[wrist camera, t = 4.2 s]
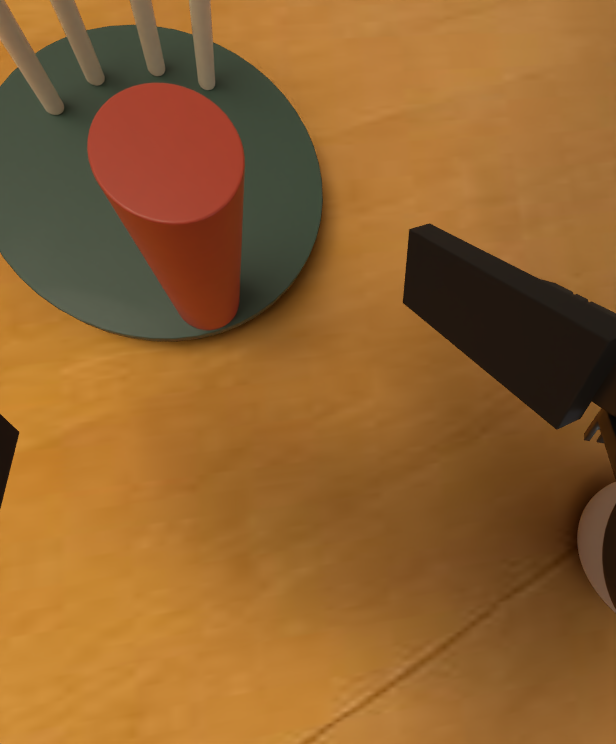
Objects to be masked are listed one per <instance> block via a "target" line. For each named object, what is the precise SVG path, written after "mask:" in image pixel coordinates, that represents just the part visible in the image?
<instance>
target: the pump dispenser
mask: <svg viewBox="0 0 616 744" xmlns="http://www.w3.org/2000/svg"><path fill="white" fill-rule="evenodd" d="M577 544H578V552H579V557H580V560H581V564H582V566H583V569H584V571H585V574H586V576H587V578H588V580H589V581H590V583H591V584H592V586H593V588H594V589H595V590H596V592H597V593H598V595H599V596H600V597H601V598H602V599H603V601H604V602H605V603H606V604H607V605H608V606H609V607H610V608H611V609H612V610H613V611H614V612H615V613H616V482H613V483H611V484H609V485H608V486H606V487H604V488H603V489H601V490H600V491H599V492H598V493H596V494H595V495H594V496H593V497H592V499H591V500H590V501H589V502H588V504H587V505H586V507H585V509H584V511H583V513H582V515H581V518H580V522H579V526H578V533H577Z"/></svg>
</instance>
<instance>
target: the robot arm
mask: <svg viewBox="0 0 616 744" xmlns="http://www.w3.org/2000/svg"><path fill="white" fill-rule="evenodd" d="M403 303H404V304H405V305H406V306H407V307H409V308H410V309H411V310H412V311H413V312H415V313H416V314H417V315H418V316H419V317H421V318H422V319H423V320H424V321H426V322H427V323H428V324H429V325H430V326H432V327H433V328H434V329H435V330H436V331H438V332H439V333H440V334H441V335H443V336H444V337H445V338H446V339H447V340H449V341H450V342H451V343H452V344H453V345H455V346H456V347H457V348H458V349H460V350H461V351H462V352H463V353H464V354H466V355H467V356H468V357H469V358H470V359H472V360H473V361H474V362H475V363H476V364H478V365H479V366H480V367H481V368H483V369H484V370H485V371H486V372H487V373H489V374H490V375H491V376H492V377H493V378H495V379H496V380H497V381H498V382H500V383H501V384H502V385H503V386H504V387H506V388H507V389H508V390H509V391H510V392H512V393H513V394H514V395H515V396H517V397H518V398H519V399H520V400H521V401H523V402H524V403H525V404H526V405H527V406H529V407H530V408H531V409H532V410H534V411H535V412H536V413H537V414H538V415H540V416H541V417H542V418H543V419H544V420H546V421H547V422H548V423H549V424H550V425H552V426H553V427H554V428H555V429H559V428H562V427H564V426H566V425H568V424H570V423H572V422H574V421H576V420H578V419H580V418H581V417H582V415H583V414H584V412H585V411H586V409H587V408H588V406H589V404H590V403H591V401H592V402H594V403H595V404H597V405H598V406H599V407H601V410H600V411H599V413H598V414H597V415H596V417H595V418H594V420H593V421H592V423H591V424H590V426H589V427H588V429H587V430H586V431H585V433H584V440H586V441H590V439H591V438H592V437H593V435H594V434H595V432H596V431H597V430H599V429H600V431H601V435H600V436H599V437H598V439H597V442H599V443H604V444H605V447H606V450H607V453H608V456H609V460H610V463H611V466H612V469H613V472H614V476H615V479H616V313H614V312H612V311H610V310H608V309H606V308H604V307H602V306H600V305H598V304H596V303H594V302H588V299H586V298H584V297H582V296H580V295H578V294H575V295H574V294H573V292H572V291H570V290H568V289H566V288H564V287H562V286H560V285H558V284H556V283H553V282H549V281H545V280H541V279H538V278H536V277H534V276H532V275H530V274H528V273H526V272H524V271H522V270H520V269H518V268H516V267H514V266H512V265H510V264H508V263H506V262H505V261H503V260H501V259H499V258H497V257H495V256H493V255H491V254H489V253H487V252H485V251H483V250H481V249H479V248H477V247H475V246H473V245H471V244H469V243H467V242H465V241H463V240H461V239H459V238H457V237H455V236H453V235H451V234H449V233H447V232H445V231H443V230H441V229H439V228H437V227H435V226H433V225H431V224H426V225H423V226H419V227H416V228H412V229H409V240H408V251H407V262H406V273H405V284H404V296H403ZM18 435H19V431H18V430H17V429H15V428H14V427H13V426H12V425H11V424H10V423H9V422H8V421H7V420H6V419H5V418H4V417H3V416H2V415H1V414H0V508H1V504H2V500H3V496H4V492H5V488H6V484H7V480H8V476H9V472H10V468H11V464H12V460H13V456H14V452H15V448H16V444H17V439H18Z"/></svg>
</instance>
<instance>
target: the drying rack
mask: <svg viewBox="0 0 616 744" xmlns="http://www.w3.org/2000/svg"><path fill="white" fill-rule="evenodd" d="M50 1H51V3H52V6H53V8H54V10H55V12H56V14H57V17H58V19H59V21H60V23H61V25H62V27H63V30H64V32H65V34H66V36H67V37H65V38H63V39H61V40H59V41H56V42H54V43H52V44H50V45H48V46H46V47H44V48H43V49H41V50H40V51H38V52H37V53H34V51H33V50H32V48H31V46H30V44H29V43H28V41H27V39H26V37H25V36H24V34H23V32H22V30H21V29H20V27H19V25H18V23H17V22H16V20H15V18H14V16H13V15H12V13H11V11H10V9H9V8H8V6H7V4H6V2H5V1H4V0H0V40H1V42H2V43H3V45H4V46H5V48H6V49H7V51H8V52H9V54H10V56H11V57H12V59H13V60H14V62H15V63H16V65H17V66H18V68H16V69H15V70H14V71H13V72H12V73H11V74H10V75H9V77H8V78H7V79H6V80H5V81H4V83H3V84H2V85H1V86H0V253H1V254H2V256H3V257H4V259H5V260H6V261H7V263H8V264H9V265H10V266H11V267H12V269H13V270H14V271H15V272H16V273H17V275H18V276H19V277H20V278H21V279H22V280H23V281H24V282H25V283H26V284H27V285H29V286H30V287H31V288H32V289H33V290H34V291H35V292H36V293H37V294H38V295H40V296H41V297H43V298H44V299H45V300H47V301H48V302H50V303H51V304H52V305H54V306H55V307H57V308H58V309H60V310H62V311H64V312H65V313H67V314H69V315H71V316H73V317H75V318H77V319H78V320H80V321H82V322H84V323H86V324H88V325H91V326H93V327H96V328H99V329H101V330H104V331H106V332H109V333H113V334H117V335H121V336H125V337H129V338H134V339H142V340H149V341H183V340H192V339H199V338H204V337H208V336H212V335H216V334H220V333H222V332H225V331H227V330H230V329H233V328H235V327H238V326H240V325H242V324H244V323H245V322H247V321H249V320H251V319H253V318H255V317H256V316H258V315H259V314H261V313H262V312H263V311H265V310H266V309H267V308H269V307H270V306H271V305H273V304H274V303H275V302H276V301H277V300H278V299H279V298H280V297H281V296H282V295H283V294H284V293H285V292H286V291H287V290H288V288H289V287H290V286H291V285H292V283H293V282H294V281H295V279H296V278H297V277H298V275H299V273H300V272H301V270H302V268H303V266H304V265H305V263H306V261H307V259H308V257H309V255H310V253H311V250H312V248H313V245H314V243H315V240H316V237H317V233H318V229H319V225H320V221H321V213H322V203H323V198H322V180H321V174H320V168H319V163H318V159H317V156H316V153H315V149H314V146H313V144H312V141H311V139H310V137H309V134H308V132H307V130H306V128H305V126H304V124H303V122H302V121H301V119H300V117H299V116H298V114H297V112H296V111H295V109H294V108H293V107H292V105H291V104H290V103H289V101H288V100H287V99H286V97H285V96H284V95H283V94H282V92H281V91H280V90H279V89H278V88H277V87H276V86H275V85H274V84H273V83H272V82H271V81H270V80H269V79H268V78H267V77H266V76H265V75H263V74H262V73H261V72H260V71H259V70H258V69H256V68H255V67H254V66H253V65H251V64H250V63H248V62H247V61H245V60H244V59H242V58H241V57H239V56H238V55H236V54H235V53H233V52H231V51H229V50H227V49H225V48H224V47H222V46H220V45H218V44H216V43H213V37H212V21H211V5H210V0H189V6H190V14H191V23H192V32H193V35H192V34H189V33H185V32H182V31H178V30H174V29H168V28H162V27H157V26H156V21H155V16H154V11H153V6H152V2H151V0H130V3H131V7H132V11H133V15H134V19H135V22H136V25H120V26H107V27H102V28H96V29H91V30H86V29H85V26H84V23H83V21H82V18H81V16H80V13H79V11H78V8H77V6H76V3H75V1H74V0H50Z"/></svg>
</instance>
